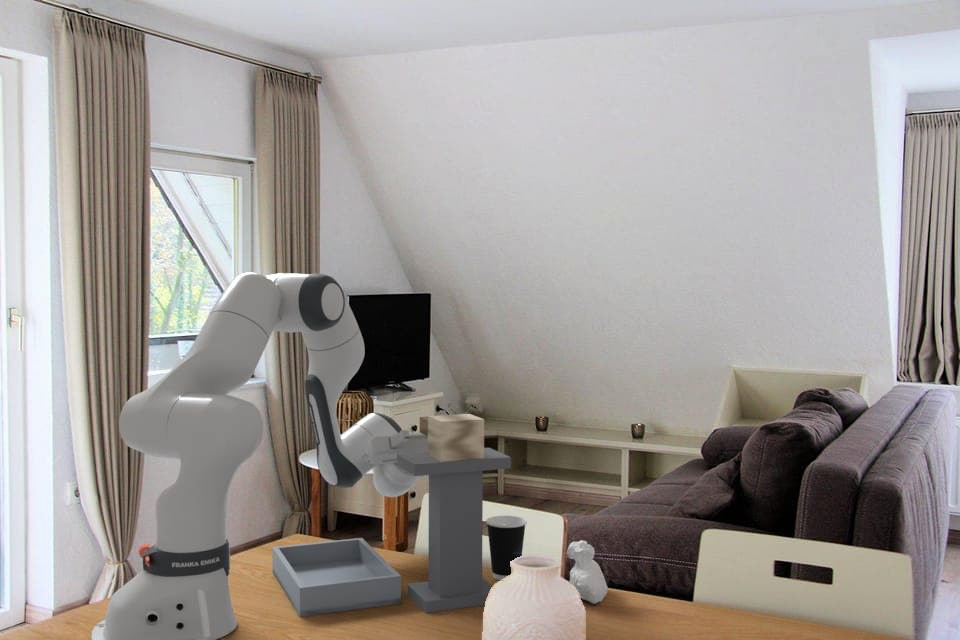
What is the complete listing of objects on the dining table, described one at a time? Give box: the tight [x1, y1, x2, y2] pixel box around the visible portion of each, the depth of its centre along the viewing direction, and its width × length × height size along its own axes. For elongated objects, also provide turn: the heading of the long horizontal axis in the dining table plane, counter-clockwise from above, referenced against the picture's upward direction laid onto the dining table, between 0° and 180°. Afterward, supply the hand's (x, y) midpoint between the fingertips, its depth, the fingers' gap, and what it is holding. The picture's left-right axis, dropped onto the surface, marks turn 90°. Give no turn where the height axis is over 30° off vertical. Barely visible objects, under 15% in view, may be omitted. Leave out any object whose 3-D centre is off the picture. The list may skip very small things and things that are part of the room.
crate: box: [272, 537, 402, 618], centre depth 176 cm, size 18×26×5 cm
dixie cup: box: [485, 515, 528, 581], centre depth 183 cm, size 8×8×11 cm
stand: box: [397, 447, 512, 614], centre depth 170 cm, size 18×10×26 cm, turn 112°
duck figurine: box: [566, 539, 609, 605], centre depth 172 cm, size 12×8×11 cm
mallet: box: [419, 413, 485, 462], centre depth 174 cm, size 8×19×7 cm, turn 22°
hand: (429, 432), depth 181 cm, fingers open, 8 cm apart
